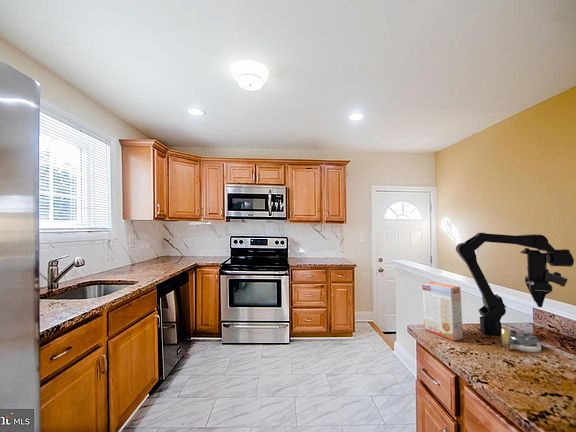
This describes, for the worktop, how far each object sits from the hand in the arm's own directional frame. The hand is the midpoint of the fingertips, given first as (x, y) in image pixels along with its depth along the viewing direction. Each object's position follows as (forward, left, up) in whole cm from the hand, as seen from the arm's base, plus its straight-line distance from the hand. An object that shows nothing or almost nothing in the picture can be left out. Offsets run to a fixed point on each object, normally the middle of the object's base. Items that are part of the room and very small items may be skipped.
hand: (538, 304), depth 109 cm
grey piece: (-15, -10, -12) cm, 21 cm away
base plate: (-12, -8, -13) cm, 20 cm away
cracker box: (-36, +1, -14) cm, 39 cm away
